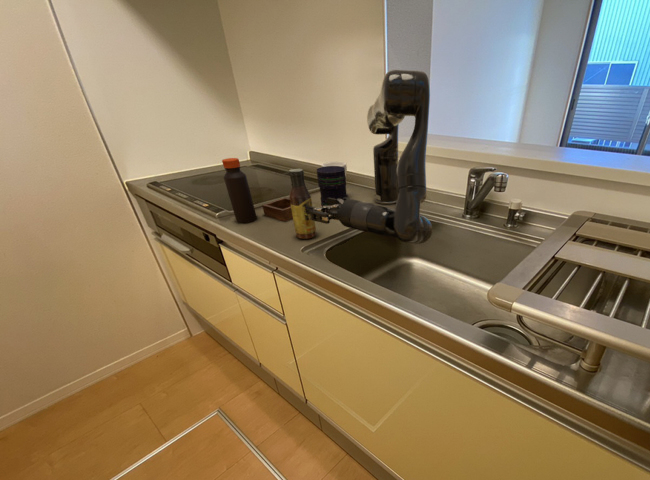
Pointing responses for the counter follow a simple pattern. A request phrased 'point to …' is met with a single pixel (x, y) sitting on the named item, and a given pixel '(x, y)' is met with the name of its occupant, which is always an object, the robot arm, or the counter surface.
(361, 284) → the counter surface
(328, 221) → the robot arm
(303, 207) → the sauce bottle
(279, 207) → the box
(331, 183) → the storage jar
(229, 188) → the vinegar
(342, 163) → the foam cup
